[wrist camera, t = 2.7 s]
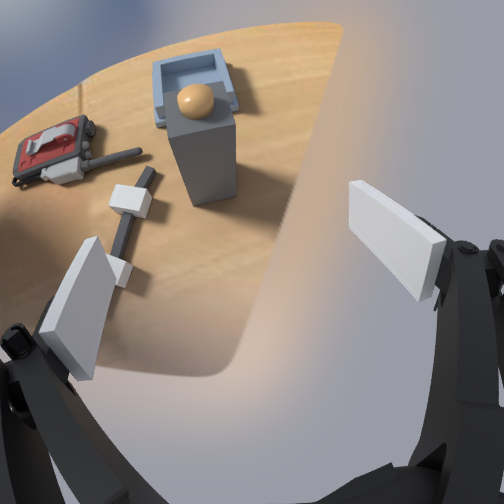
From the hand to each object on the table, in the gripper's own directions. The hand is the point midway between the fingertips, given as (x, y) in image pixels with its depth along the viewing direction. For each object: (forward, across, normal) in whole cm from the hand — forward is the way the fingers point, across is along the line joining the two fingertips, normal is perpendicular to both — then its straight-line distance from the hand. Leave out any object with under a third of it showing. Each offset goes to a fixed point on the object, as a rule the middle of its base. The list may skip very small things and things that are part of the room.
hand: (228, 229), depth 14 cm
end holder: (+27, 0, +7) cm, 28 cm away
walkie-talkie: (+24, -17, +3) cm, 29 cm away
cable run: (+14, -10, -6) cm, 18 cm away
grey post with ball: (+17, 0, -3) cm, 17 cm away
